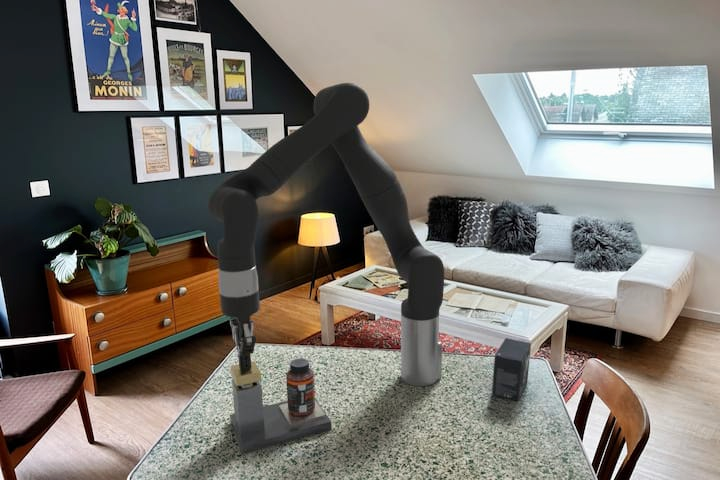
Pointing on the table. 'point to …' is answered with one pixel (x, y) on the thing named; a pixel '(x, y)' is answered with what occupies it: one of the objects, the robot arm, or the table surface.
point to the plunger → (246, 375)
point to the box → (511, 369)
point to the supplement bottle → (300, 388)
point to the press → (270, 420)
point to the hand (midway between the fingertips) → (245, 368)
